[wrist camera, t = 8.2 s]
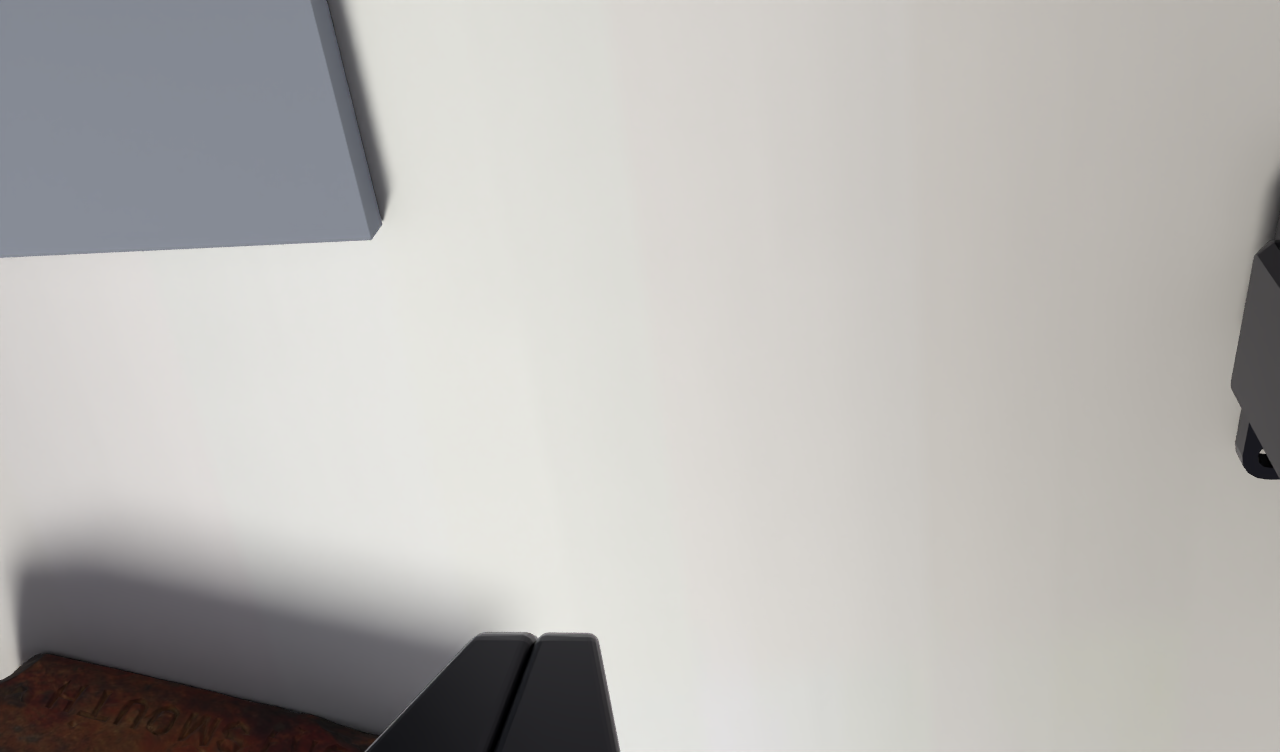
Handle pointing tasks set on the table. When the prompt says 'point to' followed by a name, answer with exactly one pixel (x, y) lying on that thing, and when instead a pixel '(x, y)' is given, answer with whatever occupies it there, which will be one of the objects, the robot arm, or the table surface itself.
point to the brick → (148, 715)
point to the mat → (176, 127)
